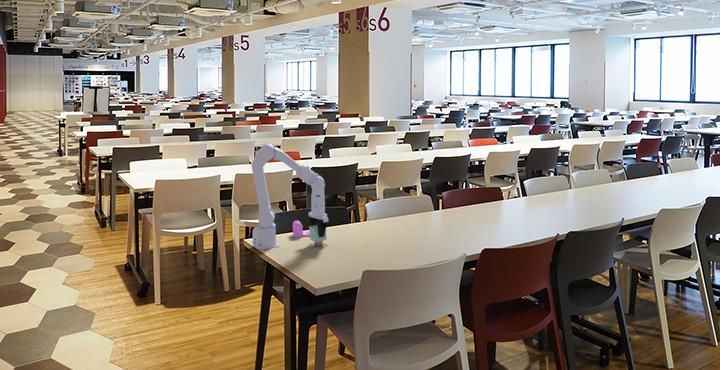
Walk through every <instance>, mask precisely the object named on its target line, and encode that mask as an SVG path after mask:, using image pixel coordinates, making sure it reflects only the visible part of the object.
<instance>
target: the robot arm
mask: <svg viewBox="0 0 720 370" xmlns="http://www.w3.org/2000/svg"><path fill="white" fill-rule="evenodd" d="M272 159H273V161H280V162H282V163H283V164H284V165H286V166H288V167H289V168H291V170H293V171H295V175H296V177H297V178H299V179H300V180H302V181H303V182H304V183H305V184H307V185H310V188H311V196H310V197H311V199H310V201H311V209H310V210H311V211H308V217H309V218H307V221H308V223H309V226H313V225H317V228H318V235H319V237H324V235H325V230H326V231H327V227H328V225H329V224H330V222H329V221H330V220H329V217H328V214H327V213H326V212H325V211H326V209H325V208H326V201H325V198H326V197H325V187H326V183H325V180H324V178H323V177H322V175H319V173H316V172H315V171H313V170H312V169H311V168H310V166H309V165H305V164H302V165H301V164H299V163H298V162H296V160H294V159H293V158H291V156H289V155H288V154H287V153H285V152H284V150H281V148H278V147H277V146H274V144H273V143H270V142H267V143H264V144H263V145H262V146H261V147H260V148H259V149H258V150H257V152H256V154H255V156H254V158H253V160H252V163H251V170H252V175H253V182H254V187H255V191H256V192H255V193H256V196H257V197H256V198H257V203H258V213H259V217H258V226H257V227H254V228H253V229H252V245H251V246H252V247H253V248H256V249H257V250H259V251H260V250H266V249H267V250H268V249H274V248H280V245H279V244H277V239H276V237H277V233H276V230H277V229H276V228H277V227H276V223H275V222H274V221H275V217H276V214H275V212H274V210H273V209H272V205H271V202H270V197H269V191H268V187H267V181H266V176H265V169H264V166H265V165H266V164H267V163H268V162H269V161H270V160H272Z"/></svg>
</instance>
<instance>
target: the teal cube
mask: <svg viewBox="0 0 720 370" xmlns="http://www.w3.org/2000/svg"><path fill="white" fill-rule="evenodd" d="M308 228H309V229H308V230H309V232H310V236H309V238H310V241H312V242H319V241H327V229H326V230H325V235H324V237H319V235H318V228H317V225H313V226H311V225H309V226H308Z"/></svg>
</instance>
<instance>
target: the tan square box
mask: <svg viewBox="0 0 720 370" xmlns="http://www.w3.org/2000/svg"><path fill="white" fill-rule="evenodd" d="M323 241H324V240H323ZM323 241H319V242H314V241H313V242H314V243H308V245H309V246H311V247H314V248H321V247H322V248H323V247H329V244H326V243H324V242H323Z"/></svg>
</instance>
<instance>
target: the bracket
mask: <svg viewBox="0 0 720 370" xmlns="http://www.w3.org/2000/svg"><path fill="white" fill-rule="evenodd" d="M303 227H304V226H303V224H302V223H301V221H299V220H294V221H293V222H292V236H293V235H294V236H293V237H294V238H305V237H306V236H309V237H310V231H304V230H303V229H304V228H303Z"/></svg>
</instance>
